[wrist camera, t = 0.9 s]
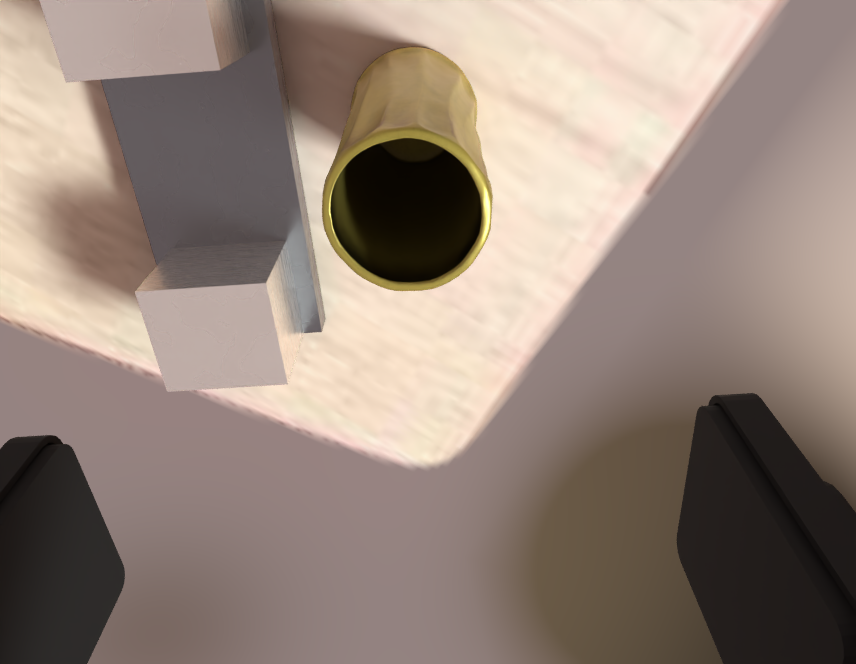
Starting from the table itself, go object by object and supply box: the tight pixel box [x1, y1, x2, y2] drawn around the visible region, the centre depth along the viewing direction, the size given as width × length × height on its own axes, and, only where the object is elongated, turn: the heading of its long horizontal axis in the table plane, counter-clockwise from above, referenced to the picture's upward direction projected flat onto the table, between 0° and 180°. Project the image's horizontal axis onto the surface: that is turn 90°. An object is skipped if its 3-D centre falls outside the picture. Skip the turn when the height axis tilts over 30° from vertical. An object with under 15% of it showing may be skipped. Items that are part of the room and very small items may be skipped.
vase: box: [322, 47, 493, 291], centre depth 26 cm, size 6×6×14 cm
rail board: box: [39, 0, 325, 392], centre depth 30 cm, size 20×8×6 cm, turn 4°
